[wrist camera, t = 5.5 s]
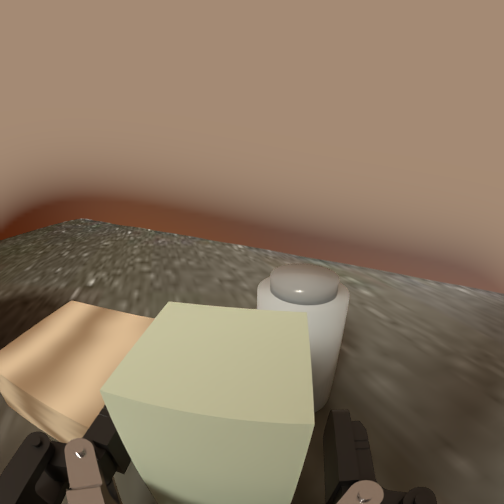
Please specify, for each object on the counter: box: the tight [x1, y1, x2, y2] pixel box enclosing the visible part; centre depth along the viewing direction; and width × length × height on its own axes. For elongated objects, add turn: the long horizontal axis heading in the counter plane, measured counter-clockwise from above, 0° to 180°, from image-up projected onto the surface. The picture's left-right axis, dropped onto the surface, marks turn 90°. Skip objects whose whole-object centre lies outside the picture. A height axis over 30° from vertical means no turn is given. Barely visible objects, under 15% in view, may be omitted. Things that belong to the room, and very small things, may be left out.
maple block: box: [0, 300, 154, 443], centre depth 19 cm, size 12×12×5 cm
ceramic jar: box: [257, 264, 350, 413], centre depth 20 cm, size 6×6×10 cm
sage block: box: [100, 302, 315, 504], centre depth 10 cm, size 5×5×12 cm
